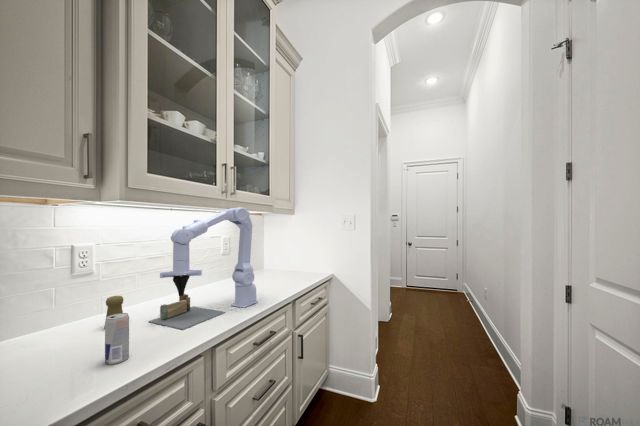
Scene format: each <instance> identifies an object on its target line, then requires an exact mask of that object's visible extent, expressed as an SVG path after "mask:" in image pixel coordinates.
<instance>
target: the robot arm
mask: <svg viewBox="0 0 640 426" xmlns="http://www.w3.org/2000/svg"><path fill="white" fill-rule="evenodd" d="M223 221H229V222H231V223H233V224H234V225H236V226H237V228H238V229H239V236H238V237H239V240H238V254H237V255H238V256H237V263H236V264H235V266H234V271H233V272H232V275H231V278H232V281H233V282H234V303H231V304H230V306H231V307H237V308H247V307H249V306H251V305H254V304H257V303H258V302H259V301H258V300H257V286H256V284H254V281H255V274H254V267H253V266H252V264H251V255H252V251H251V250H252V240H253V238H252V237H253V222H252V220H251V217H250V212H249V210H248V209H247V208H246V207H244V206H239V207H230V208H228V209H224V210H222V211H220V212H219V213H216V214H215V215H213V216H211V217H209V218H207V219H205V220H202V219H194V220H193V222H192V223H189V224H188V225H182V227H181V229H180V228H179V229H175V230H174V231H173V232H172V233H171V236H170V240H171V242H172V245H173V246H172V270H171V271H170V270H169V271H161V272H159V279H164V278H172V282H173V283H174V285H175V287H176V289H177V292H178V293H177V294H178V297H179V296H183V295H184V294H185V289H186V287H187V284H188V281H189V280H190V277H193V276H194V277H195V276H196V277H197V276H198V277H199V276H202V275H203V272H202V271H203V270H202V269H190V243H191V241H192V240H194V239H195V238H197V237H199V236H201V235H203V234H205V233H207V231H208V229H209V228H211V227H212V226H215V225H217V224H219V223H221V222H222V223H223Z"/></svg>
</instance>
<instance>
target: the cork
mask: <svg viewBox="0 0 640 426" xmlns="http://www.w3.org/2000/svg"><path fill="white" fill-rule="evenodd" d="M123 304H124V297H123V296H122V295H113V296H109V297H108V298H106V300H105V305H106V307H107V310H106V314H105V315H106V316H105V318H106V317H108V316H110V315H113V314H118V313H124V311H123V306H122V305H123ZM103 328H104V330H105V326H104V327H103Z"/></svg>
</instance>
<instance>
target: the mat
mask: <svg viewBox="0 0 640 426" xmlns="http://www.w3.org/2000/svg"><path fill="white" fill-rule="evenodd" d="M223 314H226V311H222V310H216V309H211V308H205V307H198V306H190V311H186V312H183V313H180V314H177V315H174V316H172V317H169V318H166V319H160V317H158V318H153V319H151V320H148V323H150V324H155V325H159V326H163V327H167V328H172V329H176V330H181V331H184V330H187V329H189V328H191V327H194V326H196V325H199V324H202V323H204V322H206V321H208V320H211V319H214V318H216V317H218V316H221V315H223Z"/></svg>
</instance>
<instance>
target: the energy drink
mask: <svg viewBox="0 0 640 426" xmlns="http://www.w3.org/2000/svg"><path fill="white" fill-rule="evenodd" d="M104 327H105V329H104V363H105V364H106V365H117V364H120V363H123V362H125V361H127V360H128V359H129V358H130V316H129V313H128V312H123V313H118V314H113V315H110V316H108V317H106V316H105V320H104Z"/></svg>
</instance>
